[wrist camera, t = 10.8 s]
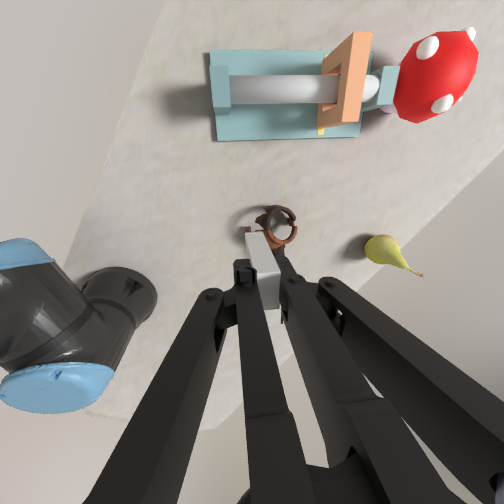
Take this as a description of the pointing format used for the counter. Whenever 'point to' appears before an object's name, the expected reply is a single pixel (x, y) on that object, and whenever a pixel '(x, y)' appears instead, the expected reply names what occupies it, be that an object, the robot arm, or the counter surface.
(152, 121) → the counter surface
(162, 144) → the counter surface
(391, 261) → the fruit
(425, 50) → the mushroom
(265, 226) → the pottery mug
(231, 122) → the pipe rig
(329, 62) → the peach rectangular collar
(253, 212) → the counter surface
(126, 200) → the counter surface
